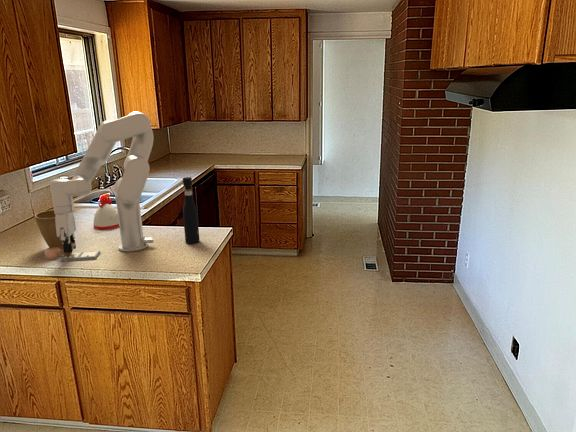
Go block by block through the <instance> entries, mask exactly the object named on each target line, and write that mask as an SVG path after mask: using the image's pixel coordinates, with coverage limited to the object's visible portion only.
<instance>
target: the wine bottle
mask: <svg viewBox="0 0 576 432" xmlns="http://www.w3.org/2000/svg"><path fill="white" fill-rule="evenodd" d="M192 179H193V178H192V176H191V177H189V176H186V177H182V185H183V187H184V190H185V191H184V197H183V198H184V203H183V207H182V217H183V218H182V219H183V227H184V228H183V230H184V239H185V244H186V245H197V244H199V243H200V232H199V231H200V230H199V217H198V210H197V206H196V204H195V200H194V195H193V191H192V185H193V180H192Z"/></svg>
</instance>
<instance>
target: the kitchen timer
mask: <svg viewBox="0 0 576 432" xmlns="http://www.w3.org/2000/svg"><path fill="white" fill-rule="evenodd" d="M112 200H113V199H112V198H110V197H109V196H107V197H103V198H102V200H99V202H100V203H98V208H97V210H96V211H95V213H94V217H93V222H92V223H93V228H94V229H95V230H101V231H102V230H105V231H106V230H112V229H116V228H119V220H118V212H117V208H116V207H115V206H114V205H112Z"/></svg>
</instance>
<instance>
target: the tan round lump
mask: <svg viewBox="0 0 576 432" xmlns="http://www.w3.org/2000/svg"><path fill="white" fill-rule="evenodd" d="M60 250H61V249H60V248H59V247H53V248H49V247H48V248H46V249H45V250H44V257H45V259H46V260H48V261H50V260H57V259H59V258H60V259H61V258H62V254H60V253H59V252H60Z"/></svg>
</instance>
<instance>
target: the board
mask: <svg viewBox="0 0 576 432" xmlns="http://www.w3.org/2000/svg"><path fill="white" fill-rule="evenodd" d="M99 255H101V251H100V250H95V251H94V250H93V251H81V252H80V251H79V252H72V254H71V255H70V256H69V257H68V256H65V255H63V256H61V257H60V262H69V261H85V260H86V261H87V260H97V258H98V257H99Z"/></svg>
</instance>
